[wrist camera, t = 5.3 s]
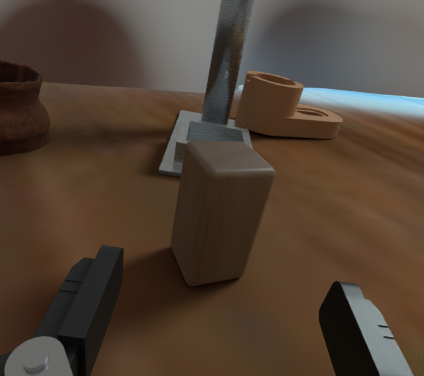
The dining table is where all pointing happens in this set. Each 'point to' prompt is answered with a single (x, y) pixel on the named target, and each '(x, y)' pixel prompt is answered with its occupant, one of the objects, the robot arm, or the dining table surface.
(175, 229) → the wooden block
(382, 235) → the dining table surface
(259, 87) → the bracket
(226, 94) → the metal post stand
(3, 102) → the ceramic pot
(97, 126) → the dining table surface
